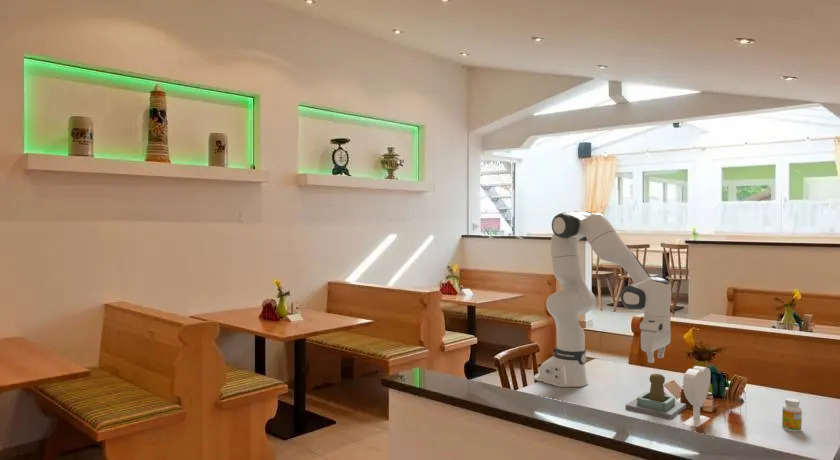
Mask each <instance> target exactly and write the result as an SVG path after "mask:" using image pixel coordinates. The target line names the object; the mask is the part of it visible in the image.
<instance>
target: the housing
mask: <svg viewBox="0 0 840 460" xmlns="http://www.w3.org/2000/svg"><path fill="white" fill-rule="evenodd" d="M649 394H650V391H645V392H644V393H642V394H641V395H638V396H637V397H636V398H635V399H633V400H631V401H630V402H628V403H626V404H625V410H629V411H633V412H638V413H642V414H647V415H651V416H655V417H659V418H664V419H668V420H672V419H674V418H675V417H676V416H677V415H679V414H680V413H682V412H683V411H684V410H686V409H687V404H686V403H684V402H680V401H676V397H674V396H671V395H665V394H664V395H665V402H659V401H654V400H649Z"/></svg>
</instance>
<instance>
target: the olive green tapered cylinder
mask: <svg viewBox="0 0 840 460" xmlns="http://www.w3.org/2000/svg"><path fill="white" fill-rule="evenodd" d="M649 382H650V389H649V393H650V394H649V400H654V401H659V402H665V388H664V384H665V382H666V378H665V376H664V374H660V373H653V374H650V376H649Z"/></svg>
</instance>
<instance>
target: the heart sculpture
mask: <svg viewBox="0 0 840 460" xmlns="http://www.w3.org/2000/svg"><path fill="white" fill-rule="evenodd" d="M711 378H712V377H711V369H710V368H709V367H705V366H699V365H694V366H693V367H692V368H688V369H687V370H686V371H685V373H684V374H683V379H682V380H683V381H682V383H683V385H682V386H683V393H684V397H685V398H686V400H687V401H688V403H690V405H691V406H692V407H693V409H692V416H690V418H688V419H687V420H685V421H683V422H682V424H684V425H687V426H690V427H697V428H699V427H700V426H701V425H702V424H704V423H705V422H707V421H709V420H710V419H711V418H710V417H708V416H706V415H701V408H703V406H704V403H705V402H706V399H707V397H708V393H709V390H710V386H711Z"/></svg>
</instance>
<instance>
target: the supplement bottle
mask: <svg viewBox="0 0 840 460" xmlns="http://www.w3.org/2000/svg"><path fill="white" fill-rule="evenodd" d="M784 403H785V404H783V406H782V415H781V416H782V417H781V418H782V419H781V421H782V423H781V426H782V427H781V428H782V429H784V430H785V429H786V431H788V430H790V431H789V432H793V431H799V432H801V431H802V423H803V422H802V419H803V409H802V407H800V404H801V403H800V400H799V399H797V398H792V397H788V398H787V397H786V398H785V399H784Z"/></svg>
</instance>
